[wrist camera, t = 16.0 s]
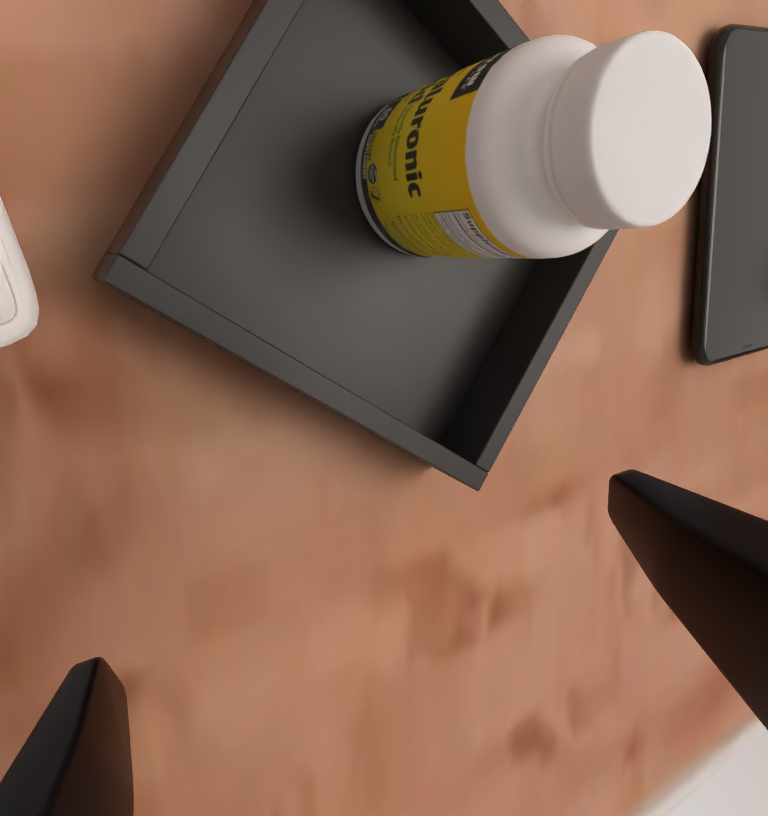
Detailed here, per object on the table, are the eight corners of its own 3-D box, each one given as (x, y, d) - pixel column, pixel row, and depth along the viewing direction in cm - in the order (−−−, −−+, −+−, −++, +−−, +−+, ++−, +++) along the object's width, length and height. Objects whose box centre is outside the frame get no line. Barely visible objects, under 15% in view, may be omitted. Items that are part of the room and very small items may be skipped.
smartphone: (704, 26, 27) (684, 367, 32) (723, 19, 27) (700, 370, 31) (800, 37, 31) (770, 343, 36) (820, 31, 30) (786, 345, 35)
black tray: (433, 467, 25) (479, 492, 23) (91, 276, 18) (101, 280, 15) (582, 190, 26) (643, 184, 24) (318, -110, 18) (365, -170, 16)
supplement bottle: (394, 59, 20) (648, -79, 12) (500, 158, 23) (763, 104, 15) (321, 203, 20) (526, 167, 12) (437, 285, 23) (667, 302, 15)
